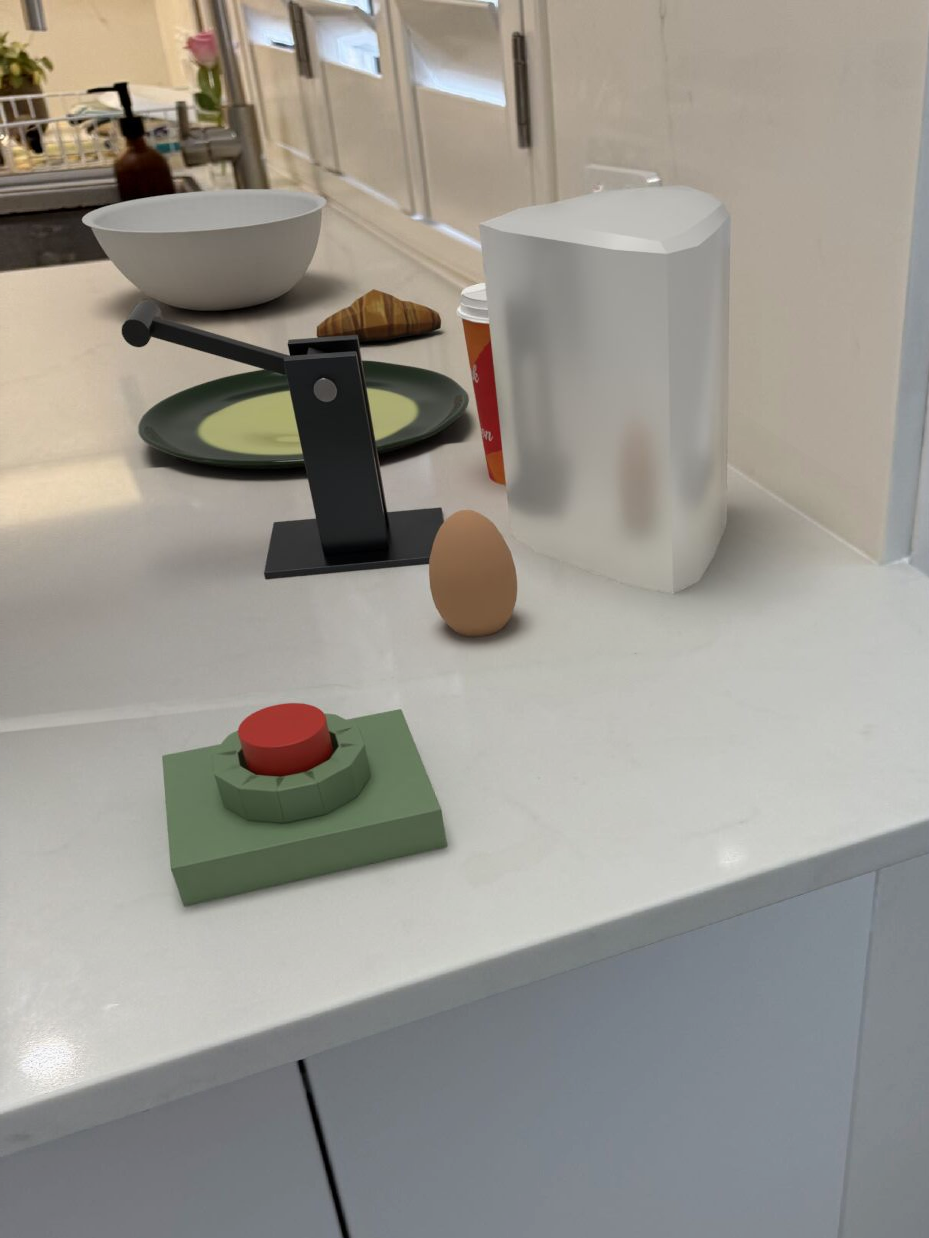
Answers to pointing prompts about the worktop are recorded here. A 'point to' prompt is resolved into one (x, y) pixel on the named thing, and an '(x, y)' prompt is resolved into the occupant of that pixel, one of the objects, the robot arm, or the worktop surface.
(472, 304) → the paper cup
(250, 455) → the plate
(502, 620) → the egg
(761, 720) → the worktop surface
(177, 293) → the bowl
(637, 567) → the frosted triangular prism
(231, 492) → the worktop surface
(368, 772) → the control block
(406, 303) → the croissant
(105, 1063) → the worktop surface
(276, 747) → the button
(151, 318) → the lever
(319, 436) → the bracket
